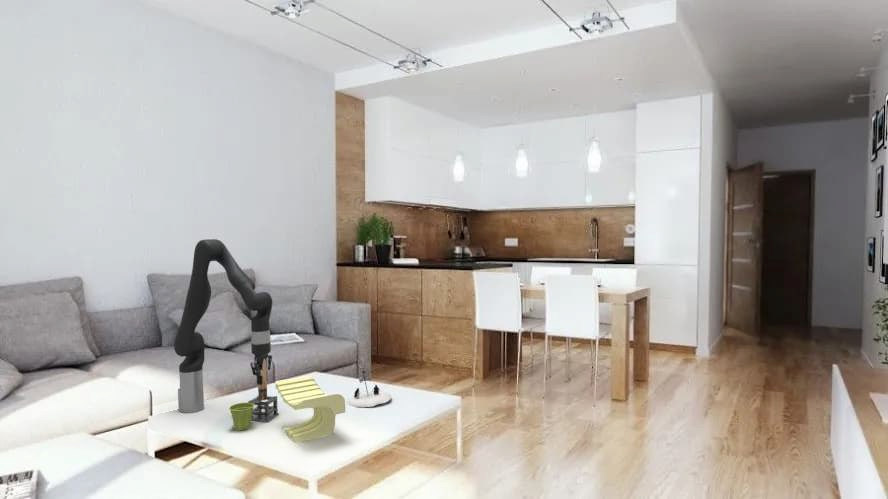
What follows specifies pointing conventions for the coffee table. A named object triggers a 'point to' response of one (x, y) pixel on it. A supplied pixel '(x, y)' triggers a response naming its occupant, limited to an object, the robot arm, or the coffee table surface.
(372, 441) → the coffee table surface
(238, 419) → the plant pot
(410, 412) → the coffee table surface
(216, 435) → the coffee table surface
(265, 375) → the tube
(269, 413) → the metal frame cube
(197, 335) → the robot arm
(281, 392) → the slatted curved stool
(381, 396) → the figurine
